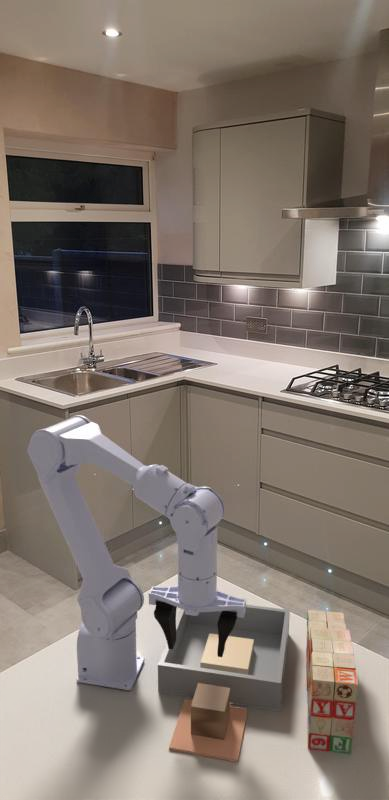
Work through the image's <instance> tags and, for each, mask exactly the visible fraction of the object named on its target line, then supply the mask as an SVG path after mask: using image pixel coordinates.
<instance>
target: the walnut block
mask: <svg viewBox="0 0 389 800" xmlns="http://www.w3.org/2000/svg"><path fill="white" fill-rule="evenodd" d="M192 700H193V701H192V704H191V735H197V736H203V737H209V738H214V739H220V740H224V739H225V734H226V730H227V725H228V721H229V717H230V706H231V703H230V688H227V687H221V686H215V685H208V684H202V683H198V685H197V688H196V691H195V694H194V697H192Z"/></svg>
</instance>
